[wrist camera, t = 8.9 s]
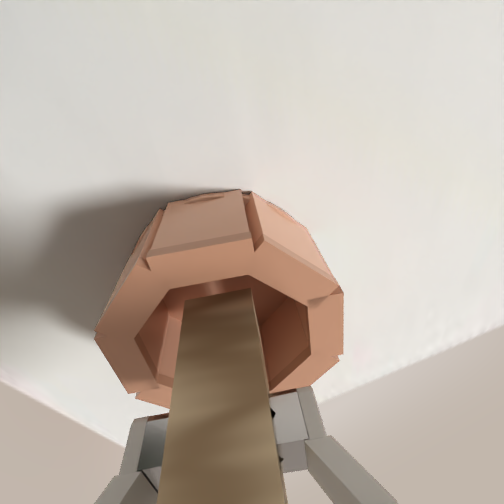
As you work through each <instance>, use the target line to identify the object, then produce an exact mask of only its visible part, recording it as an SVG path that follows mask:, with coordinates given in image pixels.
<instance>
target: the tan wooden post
mask: <svg viewBox="0 0 504 504" xmlns="http://www.w3.org/2000/svg"><path fill="white" fill-rule="evenodd" d="M268 394H270V392H269V385H268V379H267V373H266V367H265V361H264V355H263V349H262V343H261V337H260V331H259V326H258V321H257V317H256V312H255V307H254V302H253V297H252V292H251V288H247V289H242V290H237V291H231V292H226V293H221V294H215V295H210V296H205V297H199V298H194V299H189V300H185V302H184V310H183V317H182V324H181V331H180V338H179V346H178V353H177V360H176V367H175V374H174V382H173V389H172V396H171V403H170V410H169V418H168V425H167V432H166V439H165V446H164V454H163V461H162V468H161V475H160V482H159V490H158V497H157V504H288V501H287V495H286V489H285V483H284V477H283V473H282V469H281V465H280V460H279V456H278V452H277V447H276V442H275V436H274V429H273V423H272V420H273V419H272V414H271V409H270V404H269V397H268Z"/></svg>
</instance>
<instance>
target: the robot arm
mask: <svg viewBox="0 0 504 504" xmlns="http://www.w3.org/2000/svg"><path fill="white" fill-rule="evenodd" d="M268 397H269V404H270V409H271V414H272V419H273V420H272V423H273V429H274V436H275V442H276V447H277V452H278V456H279V460H280V465H281V469H282V473H287V472H293V471H300V470H306V469H308V471H309V472H310V474H311V475H312V476H313V477H314V479H315V480H316V481H317V483H318V484H319V485H320V486H321V488H322V489H323V490H324V492H325V493H326V494H327V496H328V497H329V498H330V500H331V501H332V502H333V503H334V504H398V503H397V500H396V499H395V498H394V497H393V496H392V495H391V494H390V493H389V492H388V491H387V490H386V489H384V487H383V486H382V485H381V484H380V483H379V482H378V481H377V480H376V479H375V478H374V477H373V476H372V475H371V474H370V473H368V472H367V470H365V468H364V467H363V466H362V465H361V464H359V463H358V461H357V460H356V459H354V457H352V456H351V454H350V453H349V452H347V450H345V449H344V447H343V446H342V445H340V443H339V442H338V441H336V439H335V438H334V437H332V436H327V435H326V432H325V428H324V425H323V422H322V419H321V416H320V412H319V409H318V405H317V402H316V399H315V395H314V392H313V389H312V387H311V386H306V387H301V388H297V389H296V388H294V389H289V390H285V391H280V392H275V393H270V394H268ZM168 418H169V413H165V414H160V415H154V416H147V417H142V418H137V419H134V421H133V423H132V425H131V428H130V432H129V436H128V440H127V444H126V448H125V452H124V456H123V460H122V464H121V469H120V473H119V475H117V476H114V478H113V479H112V480H111V481H110V483H109V484H108V485H107V487H106V488H105V490H104V491H103V492H102V494H101V495H100V496H99V498H98V499H97V500H96V502H95V503H94V504H157V497H158V490H159V482H160V475H161V468H162V461H163V454H164V446H165V439H166V432H167V425H168Z"/></svg>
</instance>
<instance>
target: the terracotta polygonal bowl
mask: <svg viewBox="0 0 504 504" xmlns="http://www.w3.org/2000/svg"><path fill="white" fill-rule="evenodd" d="M247 288H251V292H252V297H253V302H254V307H255V312H256V317H257V321H258V326H259V331H260V337H261V343H262V349H263V355H264V361H265V367H266V373H267V379H268V385H269V392H270V393H275V392H280V391H285V390H289V389H294V388H296V389H297V388H301V387H306V386H310V385H311V384H313V383H314V382H315V381H316V380H317V379H319V378H320V377H321V376H322V375H323V374H324V373H326V372H327V371H328V370H329V369H330V368H332V367H333V366H334V365H335V364H336V363H337V362H339V358H338V356H337V355H341V354H343V296H344V293H343V291H342V289H341V287H340V286H339V284H338V282H337V281H336V279H335V278H334V277H333V275H332V273H331V271H330V270H329V268H328V266H327V264H326V262H325V261H324V259H323V257H322V255H321V253H320V251H319V250H318V248H317V246H316V244H315V242H314V241H313V239H312V237H311V235H310V234H309V232H308V230H307V228H306V227H304V226H303V225H301V224H300V223H298V222H297V221H295V220H294V219H293V218H292V217H291V216H290V215H289V214H287V213H286V212H285V211H284V210H282V209H281V208H279V207H277V206H276V205H274V204H272V203H271V202H268V201H266V200H264V199H262V198H261V197H259V196H258V195H256V194H255V193H253V192H251V193H250V194H249V195H247V194H242V191H241V189H239V190H234V191H229V192H216V193H208V194H202V195H198V196H194V197H190V198H188V199H185V200H180V201H174V202H169V203H168V204H167V207H166V210H164V211H163V210H162V209H160V208H159V210H158V212H157V213H156V215H155V217H154V218H153V220H152V221H151V222H150V223H149V224H148V226H147V227H146V228H145V230H144V231H143V233H142V234H141V236H140V238H139V240H138V242H137V244H136V246H135V248H134V250H133V253H132V254H131V256H130V258H129V259H128V261H127V263H126V265H125V267H124V269H123V271H122V274H121V276H120V278H119V280H118V282H117V284H116V286H115V288H114V290H113V293H112V295H111V297H110V299H109V301H108V303H107V305H106V307H105V310H104V312H103V314H102V316H101V318H100V319H99V321H98V323H97V325H96V327H95V329H94V331H96V332H97V333H96V336H95V338H94V340H95V341H96V343H97V345H98V346H99V348H100V349H101V351H102V353H103V354H104V356H105V357H106V359H107V361H108V362H109V364H110V365H111V367H112V369H113V370H114V372H115V373H116V375H117V377H118V378H119V380H120V381H121V383H122V385H123V386H124V388H125V389H126V391H127V393H128V394H130V393H135V392H137V393H136V397H135V399H139V400H142V401H145V402H149V403H152V404H155V405H159V406H162V407H165V408H169V409H170V403H171V396H172V389H173V382H174V374H175V367H176V360H177V353H178V346H179V338H180V331H181V324H182V317H183V310H184V302H185V300H189V299H194V298H199V297H205V296H210V295H215V294H221V293H226V292H231V291H237V290H242V289H247Z"/></svg>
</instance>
